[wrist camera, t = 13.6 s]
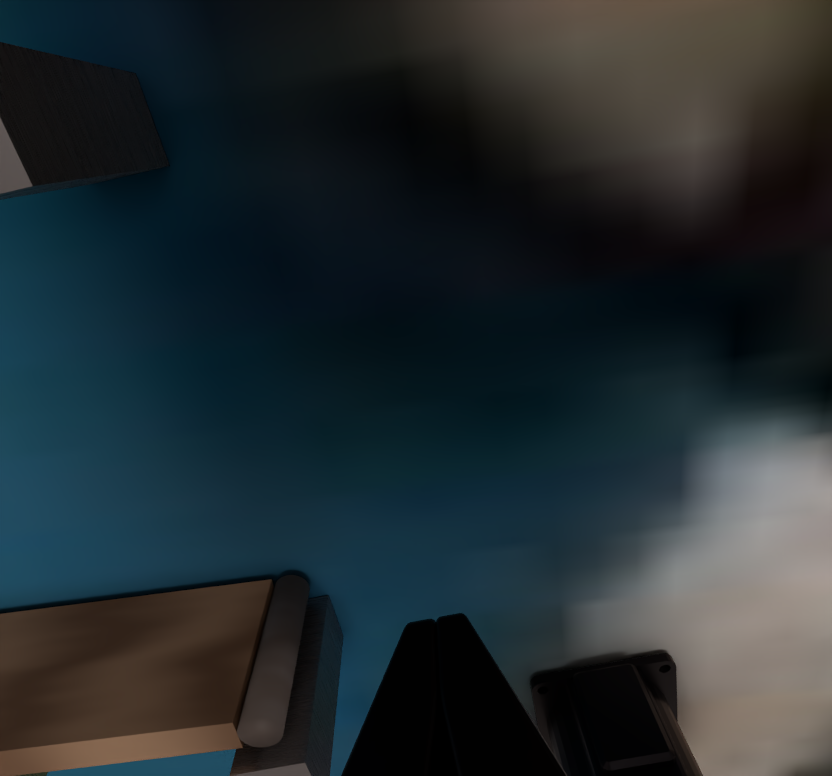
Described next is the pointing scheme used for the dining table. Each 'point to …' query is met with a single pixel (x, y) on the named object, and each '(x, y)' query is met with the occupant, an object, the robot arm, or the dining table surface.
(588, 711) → the robot arm
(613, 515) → the dining table surface
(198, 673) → the brown wooden plank
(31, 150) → the frame
